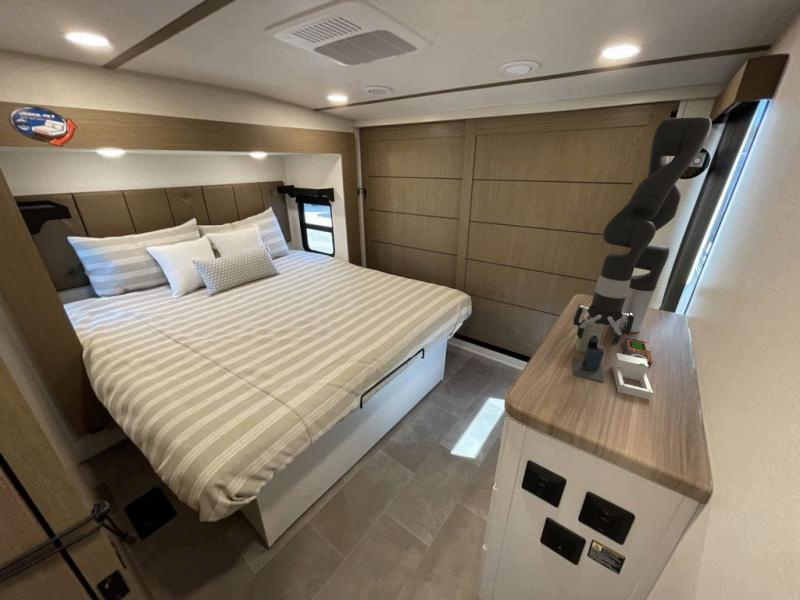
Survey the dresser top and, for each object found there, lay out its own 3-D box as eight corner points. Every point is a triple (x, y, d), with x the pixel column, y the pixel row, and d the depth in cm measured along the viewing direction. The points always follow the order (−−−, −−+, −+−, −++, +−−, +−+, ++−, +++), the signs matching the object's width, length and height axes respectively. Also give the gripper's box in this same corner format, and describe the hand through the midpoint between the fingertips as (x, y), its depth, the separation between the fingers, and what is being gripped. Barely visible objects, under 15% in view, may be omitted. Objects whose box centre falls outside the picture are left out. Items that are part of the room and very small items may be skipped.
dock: (608, 350, 106) (613, 337, 104) (634, 355, 103) (639, 342, 101) (617, 391, 87) (623, 376, 85) (649, 399, 84) (656, 384, 82)
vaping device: (579, 366, 97) (588, 334, 92) (594, 365, 98) (604, 333, 93) (584, 371, 95) (594, 338, 90) (600, 370, 95) (610, 337, 90)
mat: (572, 358, 102) (573, 357, 102) (600, 364, 99) (600, 363, 99) (573, 375, 94) (573, 374, 94) (603, 382, 91) (603, 381, 91)
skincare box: (595, 348, 108) (604, 317, 102) (596, 354, 104) (606, 323, 99) (574, 344, 110) (583, 313, 105) (575, 350, 106) (583, 319, 101)
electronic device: (628, 358, 98) (625, 335, 110) (625, 365, 100) (623, 342, 111) (654, 365, 95) (648, 340, 107) (651, 372, 96) (645, 347, 108)
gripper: (639, 290, 85) (622, 340, 92) (581, 283, 91) (569, 329, 98) (644, 301, 79) (626, 352, 86) (582, 292, 85) (569, 341, 92)
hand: (596, 340), depth 92 cm, fingers open, 8 cm apart
